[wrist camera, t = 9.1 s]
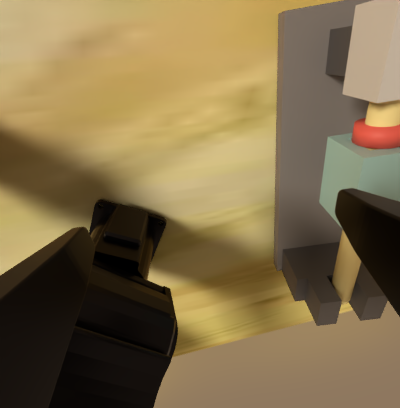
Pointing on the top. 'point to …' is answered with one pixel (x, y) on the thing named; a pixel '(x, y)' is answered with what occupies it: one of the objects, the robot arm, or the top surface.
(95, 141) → the top surface
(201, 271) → the top surface
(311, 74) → the grey peg fixture
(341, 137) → the sleeve
